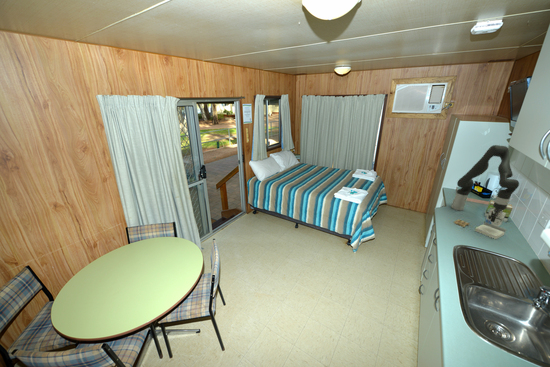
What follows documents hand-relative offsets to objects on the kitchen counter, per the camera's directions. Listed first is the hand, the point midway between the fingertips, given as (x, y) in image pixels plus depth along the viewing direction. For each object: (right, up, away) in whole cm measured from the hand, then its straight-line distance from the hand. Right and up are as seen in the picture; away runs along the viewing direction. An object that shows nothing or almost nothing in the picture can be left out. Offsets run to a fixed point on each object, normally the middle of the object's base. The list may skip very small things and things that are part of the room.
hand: (493, 220), depth 179 cm
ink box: (0, -3, +1) cm, 3 cm away
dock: (0, -11, +4) cm, 12 cm away
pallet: (-12, -6, +18) cm, 22 cm away
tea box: (+29, -2, +27) cm, 40 cm away
